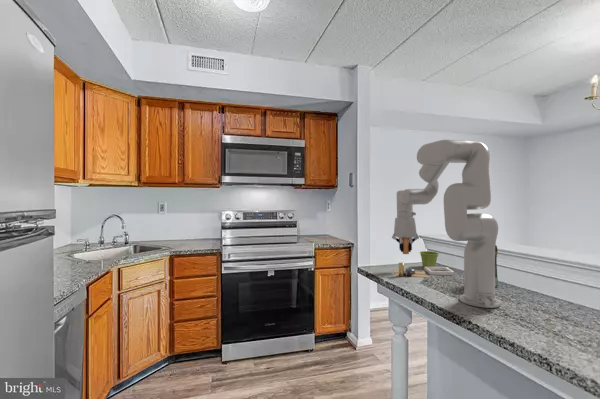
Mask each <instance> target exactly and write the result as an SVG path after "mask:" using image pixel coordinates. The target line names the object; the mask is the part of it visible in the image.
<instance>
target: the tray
mask: <svg viewBox="0 0 600 399" xmlns="http://www.w3.org/2000/svg"><path fill="white" fill-rule="evenodd" d="M423 269H424V271H425V272H427V274H429V275H431V276H452V277H453V278H455V277H456V273H455V271H454V270H452V269H450V267H447V266H436V267H423Z"/></svg>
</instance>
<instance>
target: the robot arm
mask: <svg viewBox="0 0 600 399" xmlns="http://www.w3.org/2000/svg"><path fill="white" fill-rule="evenodd" d="M490 156H491V155H490V150H489V148H488V146H487V145H486V144H484V143H482V142H481V141H475V140H466V139H465V140H464V139H458V140H457V139H441V140H436V141H431V142H429V143H425V144H423V145H421V146H420V147H419V148H418V151H417V152H416V161H417V163H418V164H420V165H422V166H421V167H420V169H419V171H418V175H419V177H420V179H422V180H423V181H424V182H425V183H427V185H426V186H425V187H424V188H406V189H403V190H398V191H397V192H396V217H394V218H395V219H394V230H393V235H392V236H391V238H392V239H393V240H395V241H396V242H397V243H398V245H399V251H400V252H401V253H403V244H402V238H409V253H411V252H412V251H413V246H412V245H413V244H414V242H415V241H416V240H419V239H420V236H419V234H418V233H417V227H416V226H417V225H416V220H415V217H414V216H416V214H417V213H416V212H414V209H413V206H414V205H427V204H429V203H430V202H432V201H433V199H434V198H435V197H436V195H437V194H438V193H439V186H440V185H439V180H438V179H440V177H441V175H442V173H443V172H444V171H445V169H446V168H447V167H448V165H449V163H451V164H457V163H458V164H461V163H464V166H463V169H462V173H461V176H462V177H461V179H462V182H456V183H452V184H450V185H448V186H447V188H446V189H445V192H444V193H443V213H444V214H443V216H444V227H445V232H446V234H447V236H448V238H449V239H450V240H453V241H455V242H467V243H466V245H465V247H464V251H463V252H464V253H463V286H464V288H463V291H464V292H463V294H460V295H459V300H460V302H462V303H463V304H465V305H469V306H473V307H477V308H483V309H484V308H485V309H486V308H487V309H495V308H499V307H501V305H502V304H501V300H499V299H497V298H496V287H495V245H496V246H497V238H498V233H499V223H498V221H497V219H495V217H493V216H492V215H490V214H487V213H479V212H478V213H477V212H475V213H468V211H474V210H475V211H477V210H483V209H486V208H488V207H489V206H490V205H491V201H492V195H491V182H490V181H491V180H490Z"/></svg>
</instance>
